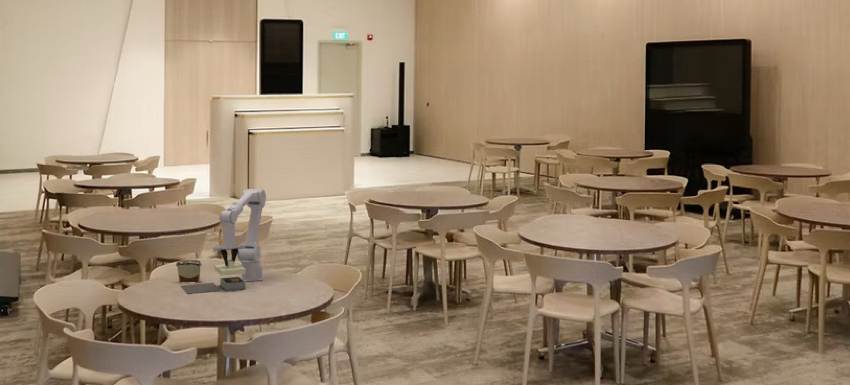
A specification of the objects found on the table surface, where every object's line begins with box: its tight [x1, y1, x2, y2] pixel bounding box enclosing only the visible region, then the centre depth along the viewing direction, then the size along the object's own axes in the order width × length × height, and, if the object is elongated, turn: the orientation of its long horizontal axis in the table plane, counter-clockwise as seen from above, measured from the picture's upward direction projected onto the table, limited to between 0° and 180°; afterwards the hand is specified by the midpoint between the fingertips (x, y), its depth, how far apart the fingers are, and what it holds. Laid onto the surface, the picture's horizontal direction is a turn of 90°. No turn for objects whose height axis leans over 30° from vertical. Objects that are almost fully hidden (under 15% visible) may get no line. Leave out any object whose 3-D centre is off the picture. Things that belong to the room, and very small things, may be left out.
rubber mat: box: [180, 282, 222, 295], centre depth 430 cm, size 15×18×1 cm
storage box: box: [219, 276, 246, 292], centre depth 432 cm, size 9×13×4 cm
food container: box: [175, 259, 203, 284], centre depth 446 cm, size 12×6×10 cm, turn 84°
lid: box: [214, 258, 246, 277], centre depth 431 cm, size 11×15×5 cm
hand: (229, 265), depth 431 cm, fingers closed on lid, 2 cm apart
